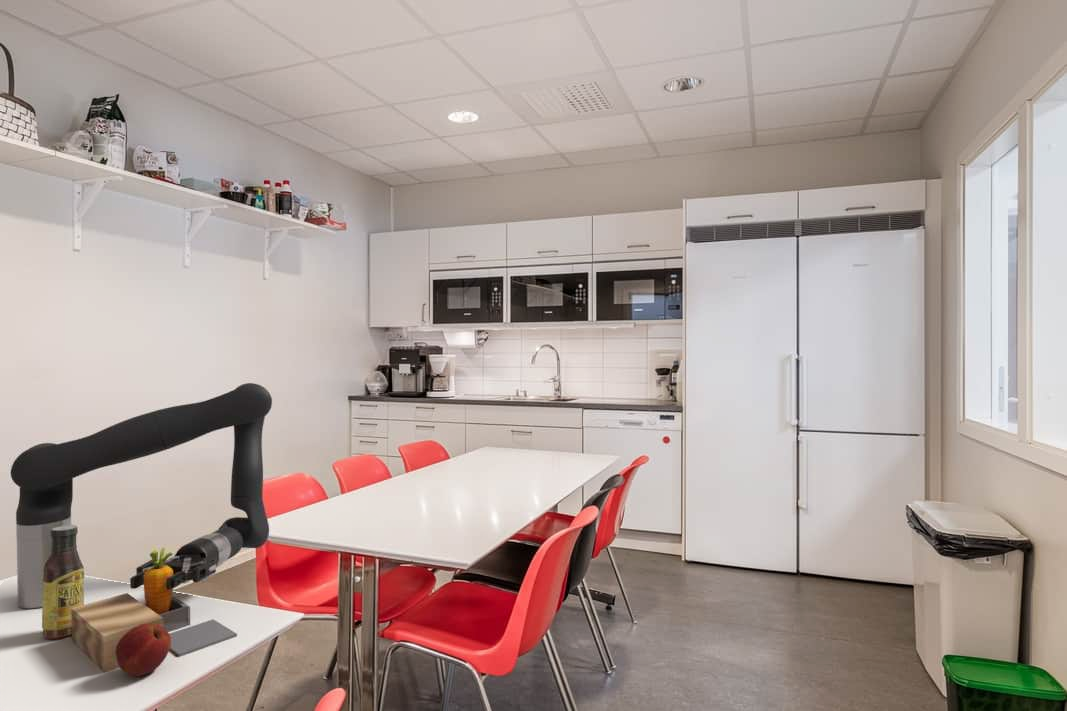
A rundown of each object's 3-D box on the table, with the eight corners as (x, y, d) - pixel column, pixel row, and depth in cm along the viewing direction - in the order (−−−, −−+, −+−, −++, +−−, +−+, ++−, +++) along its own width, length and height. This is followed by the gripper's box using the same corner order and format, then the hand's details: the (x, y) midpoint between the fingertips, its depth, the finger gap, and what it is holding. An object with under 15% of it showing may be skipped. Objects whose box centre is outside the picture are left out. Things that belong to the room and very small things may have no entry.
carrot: (161, 618, 124) (160, 543, 124) (180, 622, 122) (178, 546, 122) (138, 629, 119) (136, 551, 119) (156, 633, 117) (155, 553, 117)
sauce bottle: (61, 642, 114) (59, 533, 114) (33, 639, 115) (31, 532, 115) (93, 626, 121) (91, 523, 120) (66, 624, 122) (64, 522, 122)
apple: (148, 685, 99) (147, 635, 99) (103, 683, 100) (102, 633, 100) (179, 662, 106) (178, 615, 106) (136, 660, 107) (136, 614, 107)
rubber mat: (157, 639, 115) (156, 637, 115) (213, 621, 122) (213, 619, 122) (179, 656, 108) (179, 654, 108) (237, 635, 116) (237, 633, 116)
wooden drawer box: (71, 640, 115) (71, 608, 115) (169, 611, 127) (169, 581, 127) (104, 672, 103) (103, 636, 103) (208, 636, 116) (207, 604, 116)
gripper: (171, 537, 135) (114, 563, 119) (235, 538, 134) (186, 565, 117) (172, 571, 135) (114, 602, 119) (236, 573, 134) (186, 604, 118)
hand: (150, 583), depth 118 cm, fingers open, 6 cm apart
